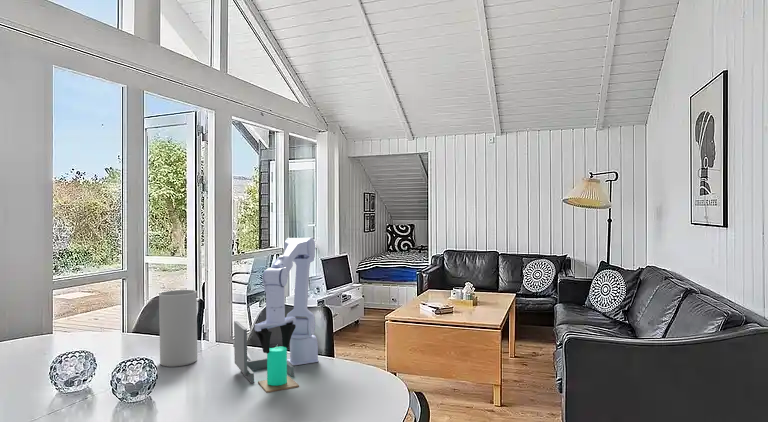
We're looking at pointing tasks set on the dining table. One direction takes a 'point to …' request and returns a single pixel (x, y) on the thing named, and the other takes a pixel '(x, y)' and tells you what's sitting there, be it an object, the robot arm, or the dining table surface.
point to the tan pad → (270, 388)
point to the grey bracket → (242, 357)
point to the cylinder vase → (178, 327)
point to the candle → (277, 366)
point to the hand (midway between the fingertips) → (276, 349)
